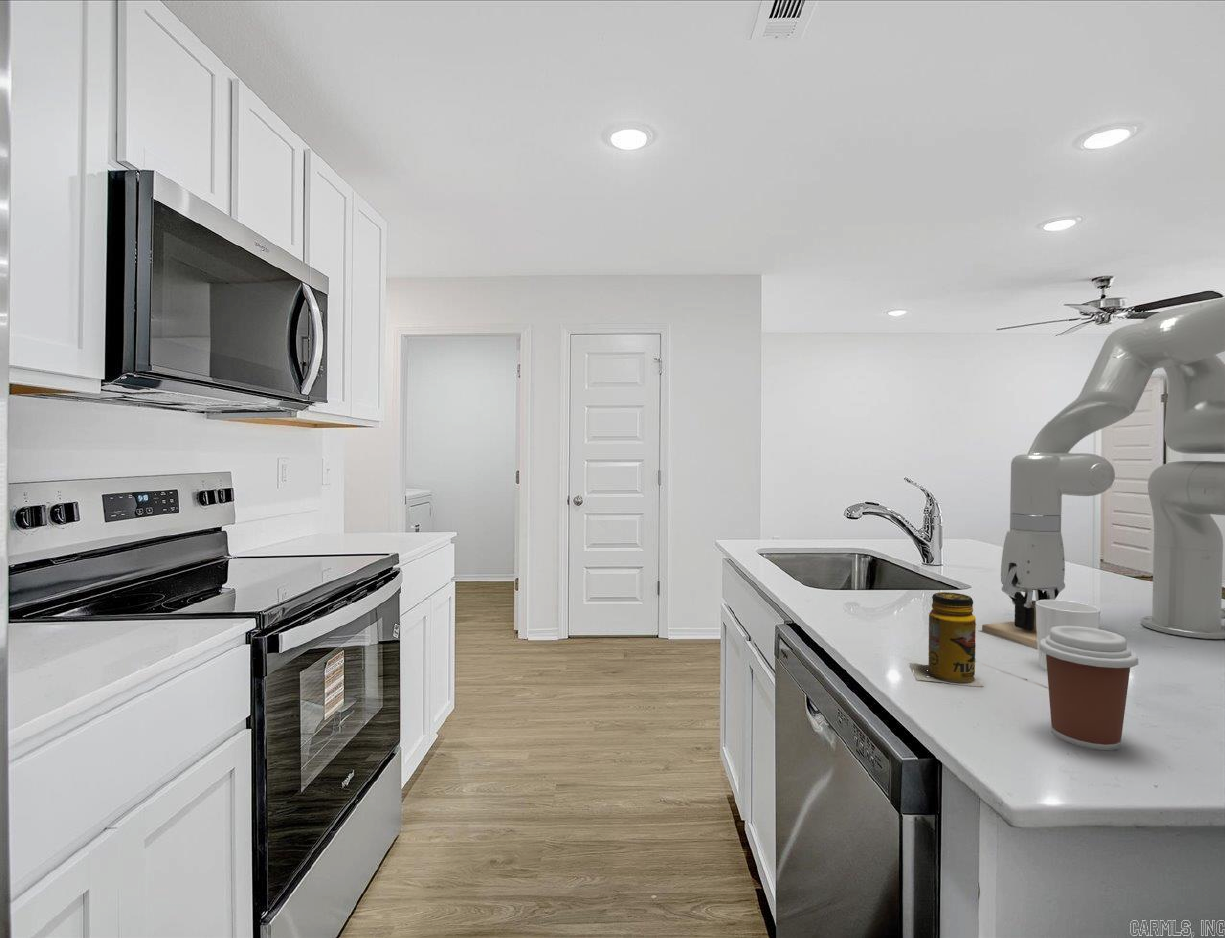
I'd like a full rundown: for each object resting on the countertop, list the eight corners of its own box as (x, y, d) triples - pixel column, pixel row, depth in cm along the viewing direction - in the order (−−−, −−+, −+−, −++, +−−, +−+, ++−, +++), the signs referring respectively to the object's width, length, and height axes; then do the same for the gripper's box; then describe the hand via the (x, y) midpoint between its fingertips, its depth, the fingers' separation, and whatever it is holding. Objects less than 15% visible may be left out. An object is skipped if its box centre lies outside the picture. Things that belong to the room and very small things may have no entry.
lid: (1027, 626, 118) (1027, 593, 118) (1087, 643, 107) (1088, 607, 107) (982, 631, 115) (982, 597, 114) (1039, 648, 104) (1040, 611, 104)
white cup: (1110, 682, 90) (1112, 613, 89) (1049, 678, 91) (1050, 610, 91) (1081, 665, 97) (1082, 600, 97) (1025, 661, 99) (1026, 598, 99)
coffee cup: (1046, 746, 70) (1048, 639, 69) (1029, 715, 78) (1031, 619, 78) (1150, 763, 66) (1152, 649, 66) (1120, 728, 74) (1122, 628, 74)
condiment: (983, 687, 88) (984, 602, 87) (916, 681, 90) (917, 597, 90) (970, 670, 95) (971, 591, 94) (909, 665, 97) (910, 587, 97)
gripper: (1049, 520, 117) (1047, 619, 117) (980, 523, 112) (978, 625, 112) (1090, 525, 110) (1088, 629, 110) (1019, 527, 104) (1017, 637, 105)
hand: (1033, 626), depth 111 cm, fingers open, 3 cm apart
